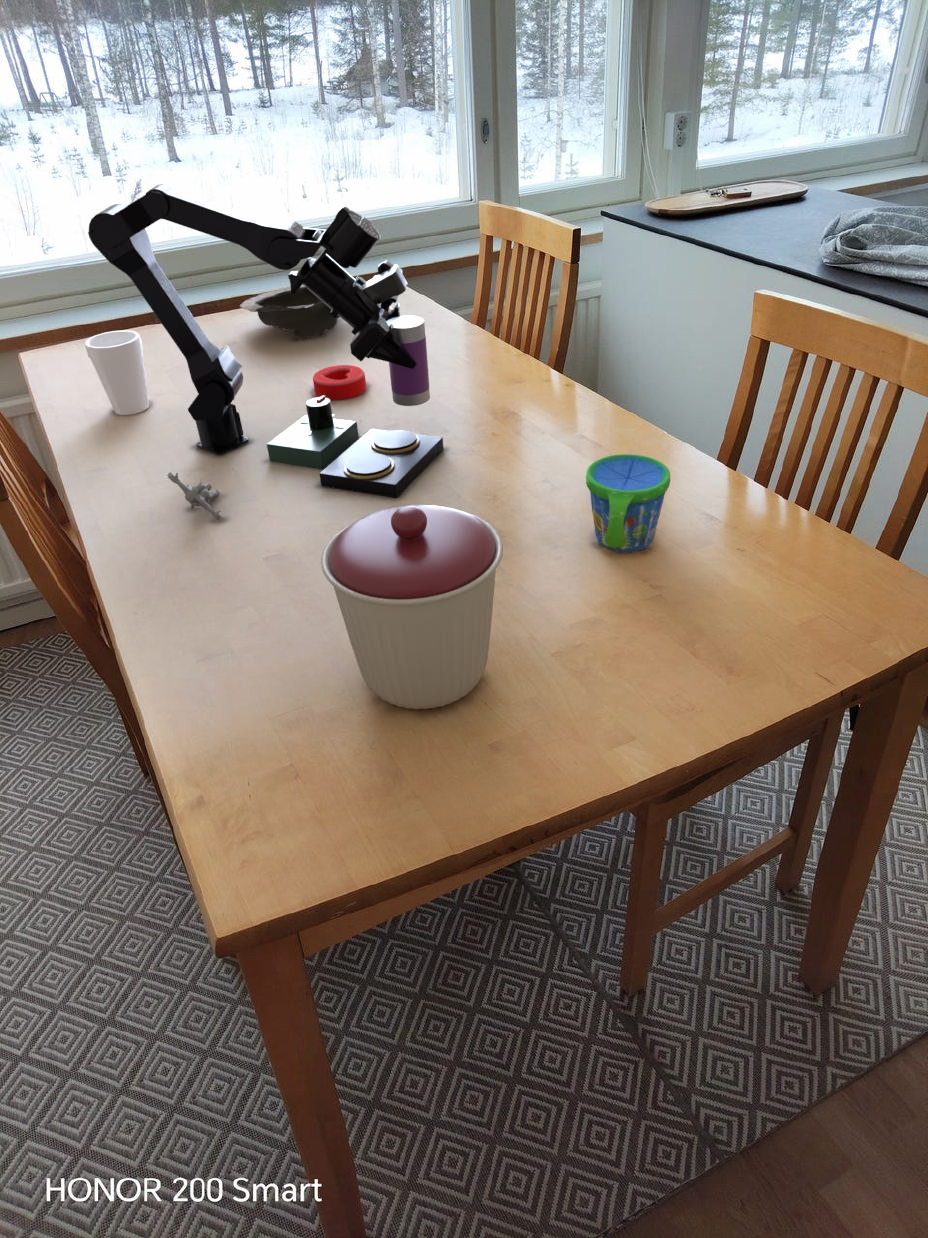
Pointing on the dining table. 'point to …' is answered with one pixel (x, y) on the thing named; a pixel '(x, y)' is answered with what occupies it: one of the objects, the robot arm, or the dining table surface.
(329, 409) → the hob knob
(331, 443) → the control box
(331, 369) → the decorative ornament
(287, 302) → the stone bowl
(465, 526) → the canister
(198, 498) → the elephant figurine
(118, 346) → the foam cup
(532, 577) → the dining table surface
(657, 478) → the snack cup
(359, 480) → the hob
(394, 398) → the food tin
